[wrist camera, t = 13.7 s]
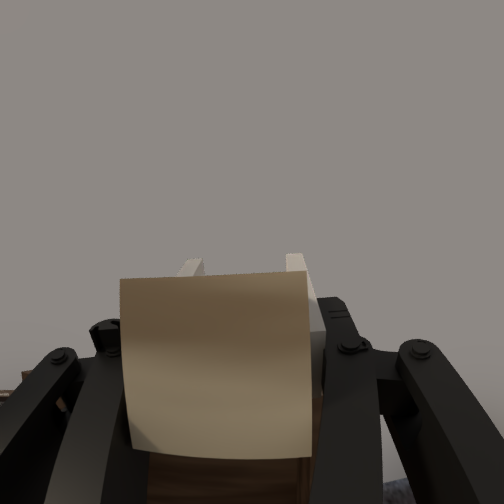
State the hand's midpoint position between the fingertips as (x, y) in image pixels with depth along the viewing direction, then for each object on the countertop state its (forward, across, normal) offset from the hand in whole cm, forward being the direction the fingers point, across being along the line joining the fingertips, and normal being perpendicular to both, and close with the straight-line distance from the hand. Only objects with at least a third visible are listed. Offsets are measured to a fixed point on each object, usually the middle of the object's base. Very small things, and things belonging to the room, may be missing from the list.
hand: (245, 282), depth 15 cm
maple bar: (+1, 0, -6) cm, 6 cm away
